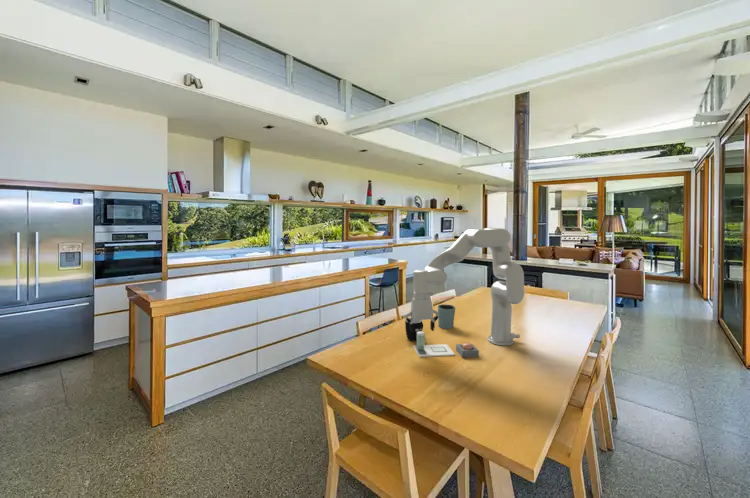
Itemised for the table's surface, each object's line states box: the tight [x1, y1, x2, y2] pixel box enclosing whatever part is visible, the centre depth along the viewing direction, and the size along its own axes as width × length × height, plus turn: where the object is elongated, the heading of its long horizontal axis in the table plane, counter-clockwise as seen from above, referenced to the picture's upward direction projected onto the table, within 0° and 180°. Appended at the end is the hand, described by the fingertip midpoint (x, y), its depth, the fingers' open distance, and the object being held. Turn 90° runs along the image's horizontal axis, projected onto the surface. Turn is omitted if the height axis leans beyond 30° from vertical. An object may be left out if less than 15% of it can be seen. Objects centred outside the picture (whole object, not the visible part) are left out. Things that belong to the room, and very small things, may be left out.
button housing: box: [455, 343, 480, 358], centre depth 159 cm, size 8×8×3 cm
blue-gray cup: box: [437, 303, 456, 330], centre depth 196 cm, size 10×10×12 cm
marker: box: [416, 330, 426, 351], centre depth 161 cm, size 4×4×8 cm
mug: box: [404, 317, 424, 342], centre depth 178 cm, size 12×9×10 cm
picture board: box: [413, 343, 456, 358], centre depth 162 cm, size 17×12×1 cm
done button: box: [462, 342, 473, 350], centre depth 159 cm, size 4×4×3 cm
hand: (422, 330), depth 160 cm, fingers open, 9 cm apart
